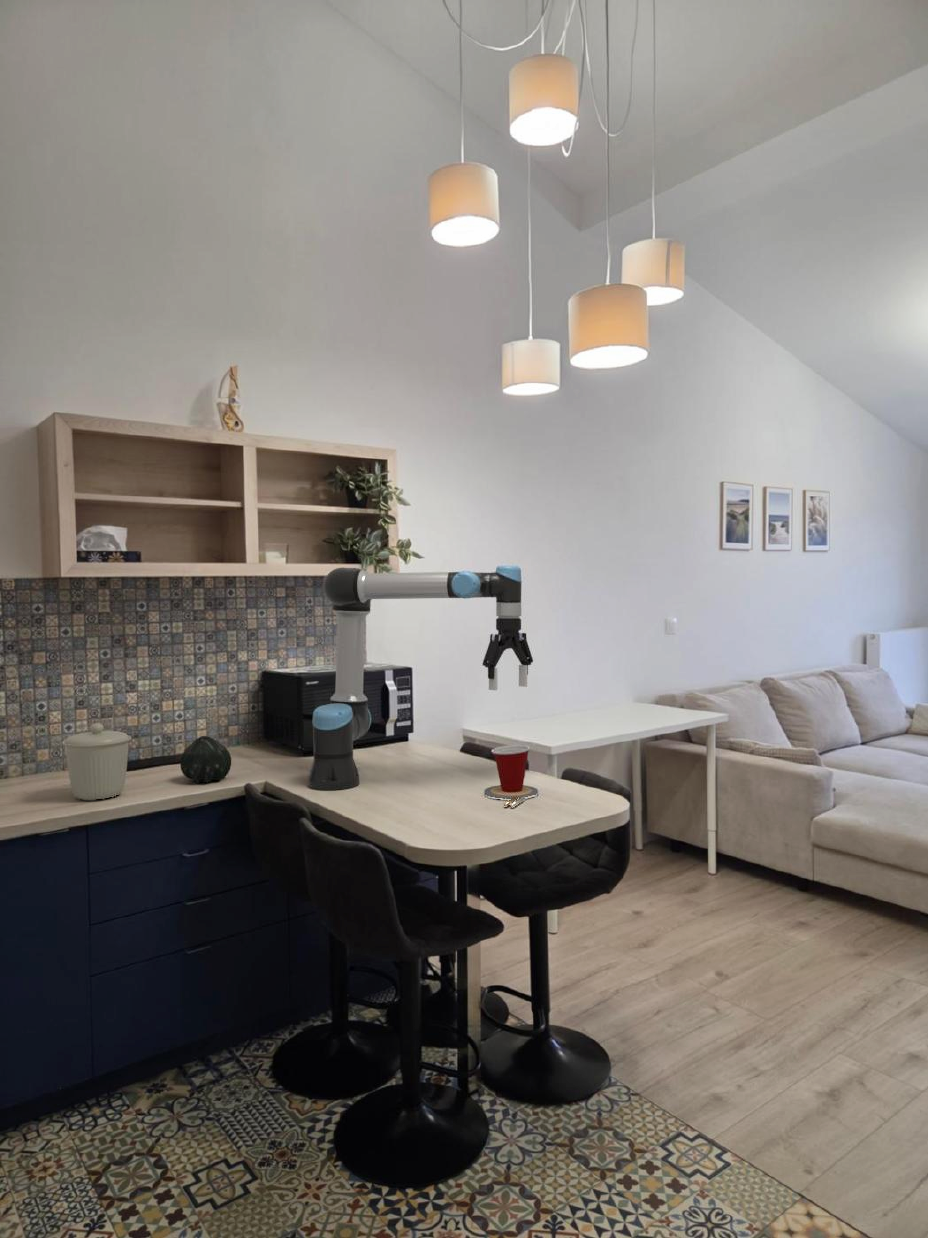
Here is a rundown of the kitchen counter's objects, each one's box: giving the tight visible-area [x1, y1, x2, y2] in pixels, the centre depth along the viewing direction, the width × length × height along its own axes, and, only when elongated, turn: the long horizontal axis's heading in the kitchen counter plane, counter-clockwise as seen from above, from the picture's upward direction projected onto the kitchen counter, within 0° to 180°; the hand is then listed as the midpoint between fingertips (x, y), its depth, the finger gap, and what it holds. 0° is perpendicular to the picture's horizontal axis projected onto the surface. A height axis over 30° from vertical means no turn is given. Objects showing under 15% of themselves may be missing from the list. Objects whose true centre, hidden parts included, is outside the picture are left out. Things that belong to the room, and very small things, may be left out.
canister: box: [61, 722, 132, 801], centre depth 242 cm, size 18×18×21 cm
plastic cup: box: [491, 744, 531, 792], centre depth 237 cm, size 11×11×12 cm
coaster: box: [483, 784, 539, 799], centre depth 237 cm, size 15×15×1 cm
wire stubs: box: [503, 796, 525, 807], centre depth 226 cm, size 9×3×1 cm, turn 156°
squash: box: [180, 735, 232, 783], centre depth 261 cm, size 14×15×15 cm
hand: (508, 688), depth 254 cm, fingers open, 13 cm apart
